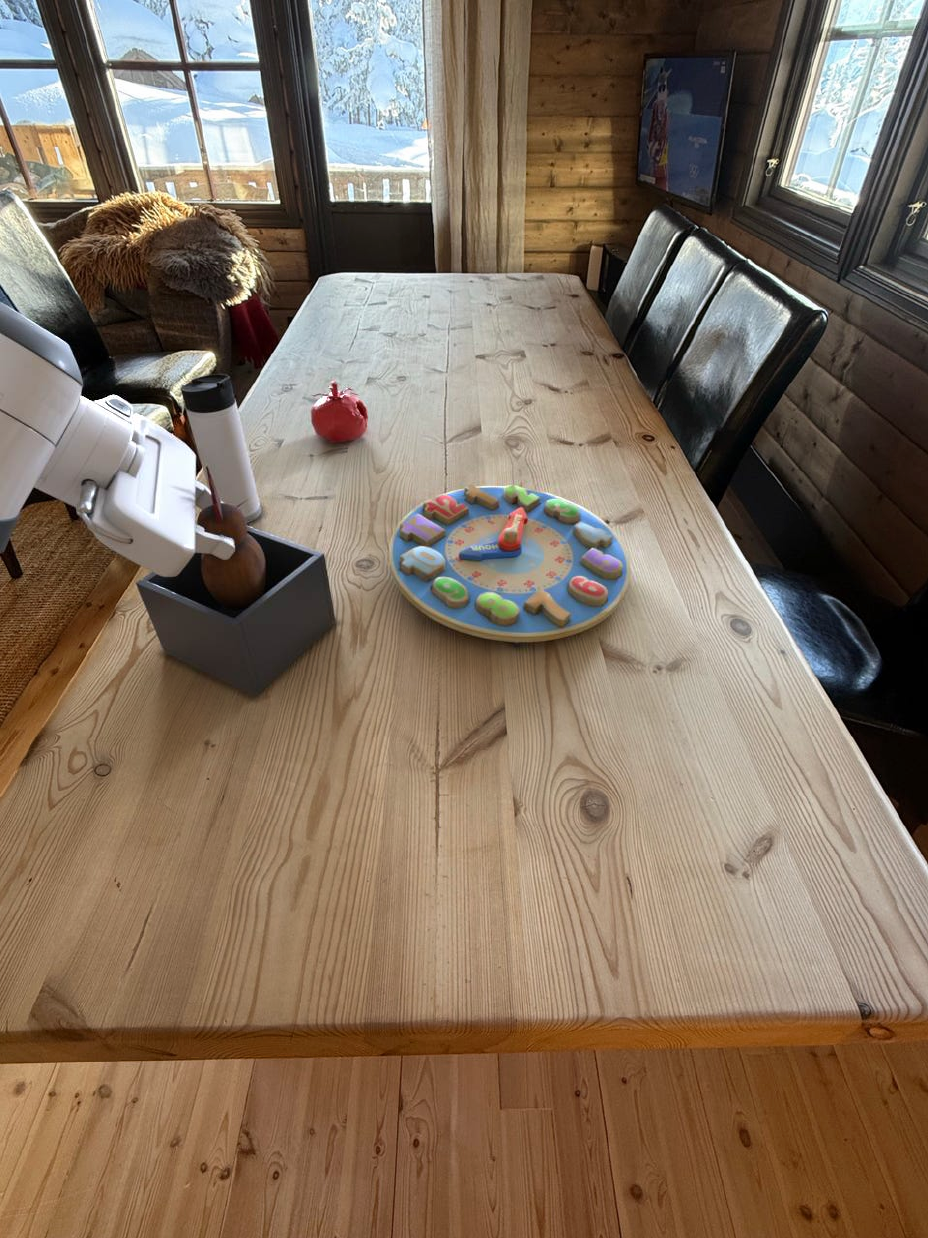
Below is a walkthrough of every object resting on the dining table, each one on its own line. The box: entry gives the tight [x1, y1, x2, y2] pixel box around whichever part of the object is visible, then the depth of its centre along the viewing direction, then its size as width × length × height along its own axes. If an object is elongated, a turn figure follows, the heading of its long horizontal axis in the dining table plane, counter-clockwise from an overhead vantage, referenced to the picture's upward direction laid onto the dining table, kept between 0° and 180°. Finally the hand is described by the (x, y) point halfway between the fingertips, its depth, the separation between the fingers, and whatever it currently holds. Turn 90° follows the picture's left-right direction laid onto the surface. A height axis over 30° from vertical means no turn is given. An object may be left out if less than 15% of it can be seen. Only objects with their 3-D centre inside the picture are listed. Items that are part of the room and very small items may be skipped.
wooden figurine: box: [196, 466, 266, 610], centre depth 67 cm, size 7×6×15 cm
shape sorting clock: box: [388, 484, 632, 645], centre depth 83 cm, size 31×30×6 cm
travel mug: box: [180, 373, 262, 524], centre depth 89 cm, size 6×7×20 cm
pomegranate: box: [310, 381, 369, 444], centre depth 112 cm, size 10×10×9 cm
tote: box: [135, 525, 337, 698], centre depth 72 cm, size 14×14×10 cm
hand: (230, 533), depth 66 cm, fingers closed on wooden figurine, 5 cm apart
